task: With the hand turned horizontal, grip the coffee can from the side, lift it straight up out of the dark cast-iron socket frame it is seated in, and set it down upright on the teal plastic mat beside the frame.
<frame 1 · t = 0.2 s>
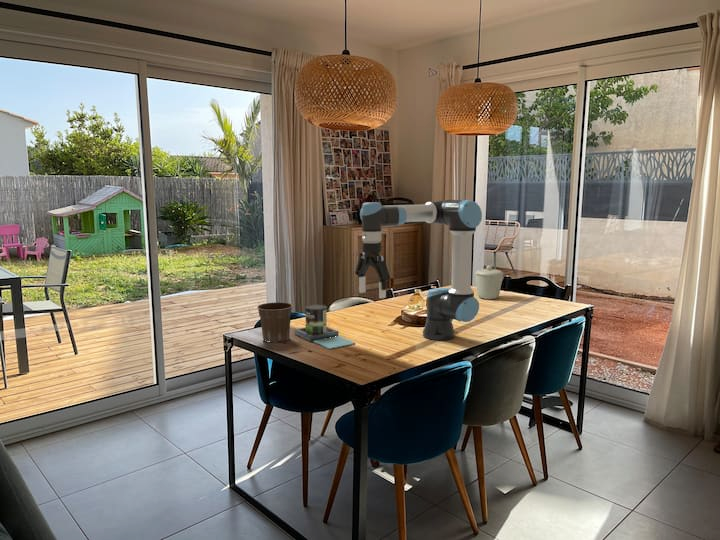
hand: (372, 295, 215), 28 cm above the table, tool pointing down, fingers open, 13 cm apart
socket frame: (316, 335, 259), on the table
canister: (488, 298, 345), on the table
coffee can: (316, 335, 259), resting in socket frame
mat: (334, 343, 246), on the table
plant pot: (275, 339, 253), on the table
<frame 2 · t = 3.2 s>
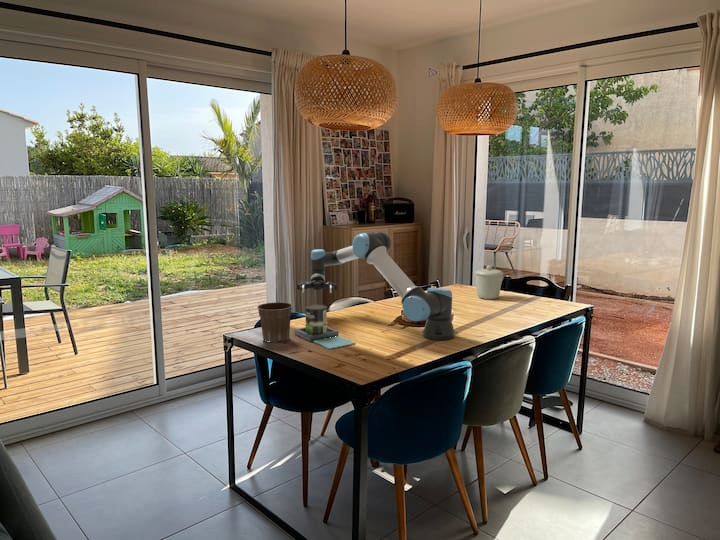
hand: (316, 290, 264), 20 cm above the table, tool horizontal, fingers open, 13 cm apart
nothing on the table moved.
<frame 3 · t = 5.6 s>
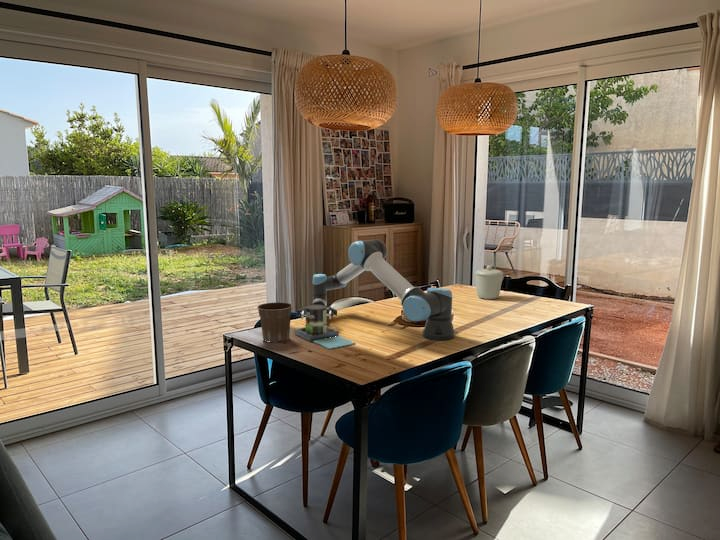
hand: (316, 316, 264), 8 cm above the table, tool horizontal, fingers open, 13 cm apart
nothing on the table moved.
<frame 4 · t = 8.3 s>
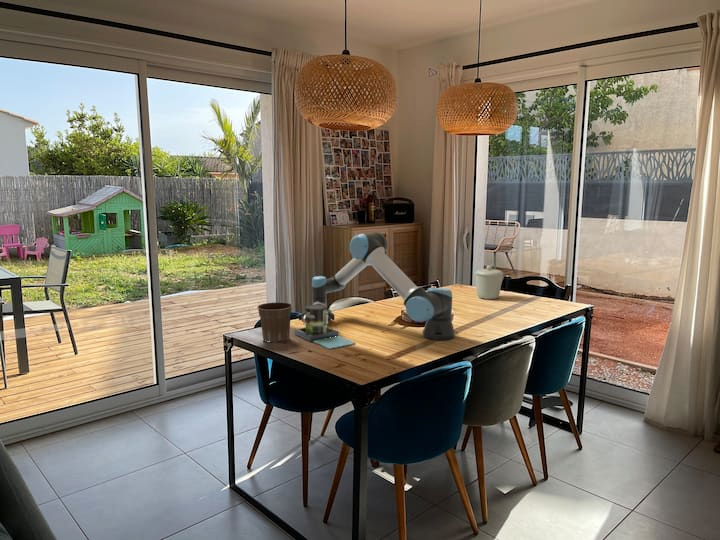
hand: (315, 321, 254), 8 cm above the table, tool horizontal, fingers closed on coffee can, 10 cm apart
coffee can: (316, 335, 259), resting in socket frame, touching gripper
everything else where it was.
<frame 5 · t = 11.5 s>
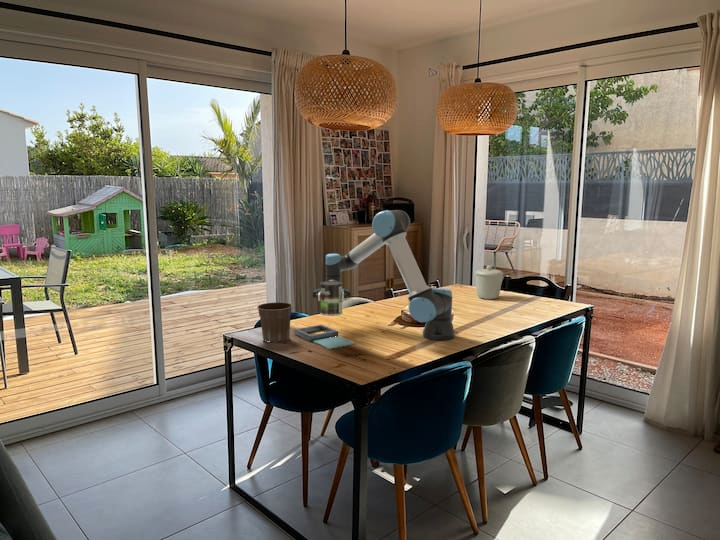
hand: (330, 297, 240), 22 cm above the table, tool horizontal, fingers closed on coffee can, 10 cm apart
coffee can: (331, 313, 246), point 13 cm above the table, touching gripper
everything else where it was.
when the fingers open (9 cm above the table, at t = 15.1 s): coffee can stays where it is, resting on mat.
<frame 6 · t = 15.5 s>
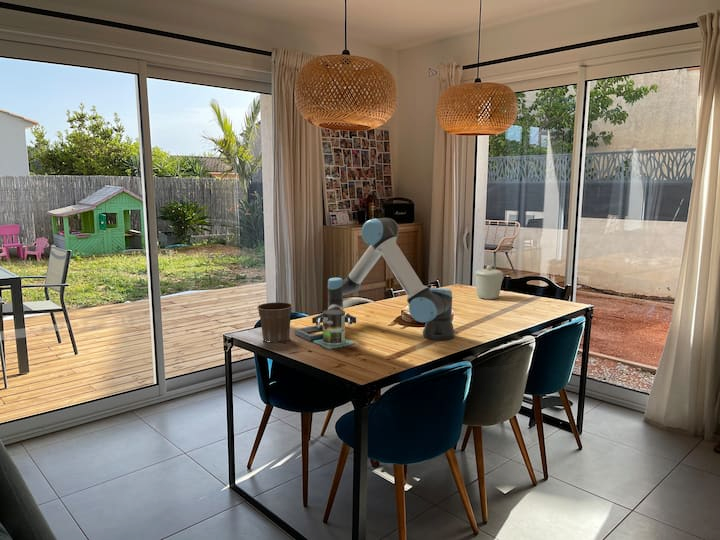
hand: (333, 324, 242), 9 cm above the table, tool horizontal, fingers open, 13 cm apart
coffee can: (334, 342, 246), resting on mat
everything else where it was.
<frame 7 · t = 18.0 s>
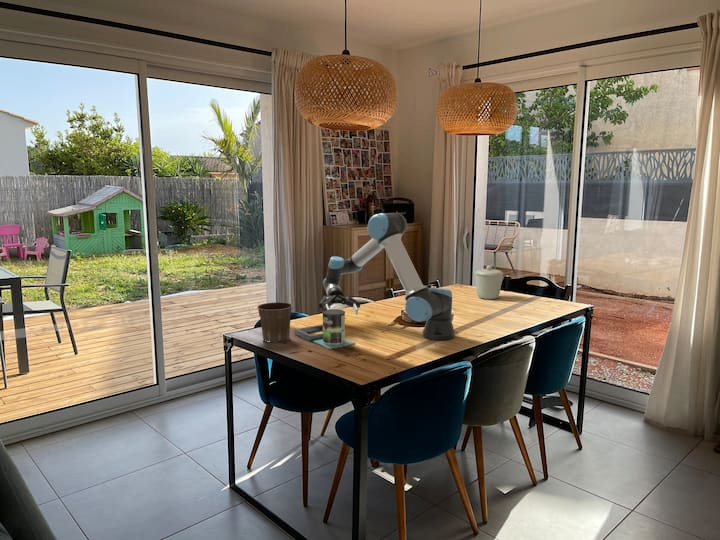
hand: (342, 312, 253), 12 cm above the table, tool horizontal, fingers open, 13 cm apart
nothing on the table moved.
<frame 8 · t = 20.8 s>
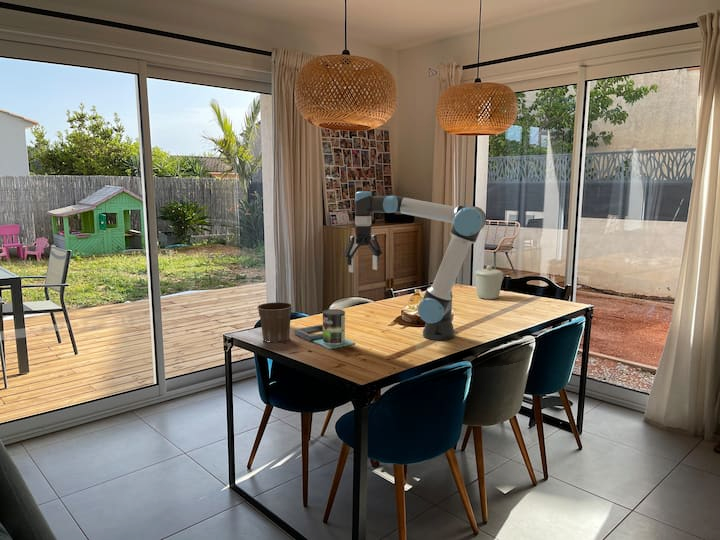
hand: (363, 270, 252), 32 cm above the table, tool pointing down, fingers open, 13 cm apart
nothing on the table moved.
at the end: coffee can inside the target area on the mat (0.1 cm from its centre), point 0.4 cm above the mat's base; coffee can tilted 0°; the gripper is holding nothing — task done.
